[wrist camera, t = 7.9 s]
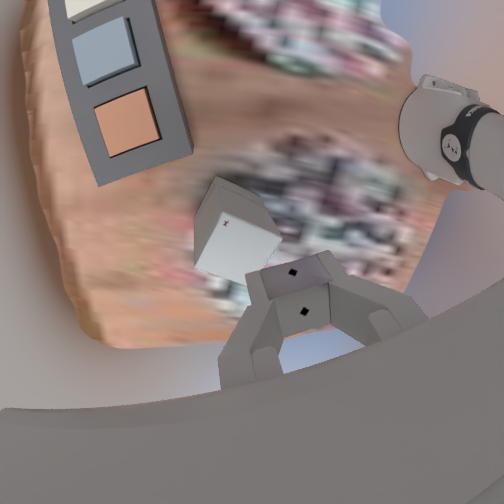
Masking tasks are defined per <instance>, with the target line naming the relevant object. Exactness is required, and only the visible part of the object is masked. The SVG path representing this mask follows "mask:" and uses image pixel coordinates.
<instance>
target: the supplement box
mask: <svg viewBox="0 0 504 504" xmlns="http://www.w3.org/2000/svg"><path fill="white" fill-rule="evenodd" d="M282 240H283V238H282V236H281V234H280V232H279V230H278V229H277V227H276V225H275V223H274V221H273V219H272V218H271V216H270V214H269V212H268V210H267V209H266V207H265V205H264V203H263V201H262V199H261V198H260V196H258V195H256V194H254V193H253V192H250V191H248V190H246V189H244V188H242V187H240V186H238V185H236V184H233V183H231V182H229V181H227V180H225V179H222V178H220V177H218V176H216V177H215V178H214V180H213V182H212V184H211V186H210V188H209V190H208V192H207V194H206V196H205V198H204V199H203V201H202V203H201V205H200V207H199V209H198V211H197V213H196V215H195V217H194V267H195V268H197V269H200V270H203V271H206V272H208V273H211V274H214V275H217V276H220V277H223V278H225V279H228V280H231V281H234V282H237V283H240V284H242V285H245V286H247V284H246V280H245V274H246V273H250V272H253V271H257V270H261V269H263V267H264V266H265V264H266V263H267V261H268V260H269V258H270V257H271V256H272V254H273V253H274V251H275V250H276V248H277V247H278V245H279V244H280V242H281V241H282Z"/></svg>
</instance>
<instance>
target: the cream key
mask: <svg viewBox="0 0 504 504" xmlns="http://www.w3.org/2000/svg"><path fill="white" fill-rule="evenodd" d="M124 1H125V0H65V5H66V11H67V17H68V19H70V20H72V21H74V22H76V23H77V22H79V21H81V20H83V19H85V18H87V17H89V16H91V15H94V14H96V13H98V12H100V11H102V10H105V9H107V8H109V7H112V6H114V5H116V4H119V3H121V2H124Z"/></svg>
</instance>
